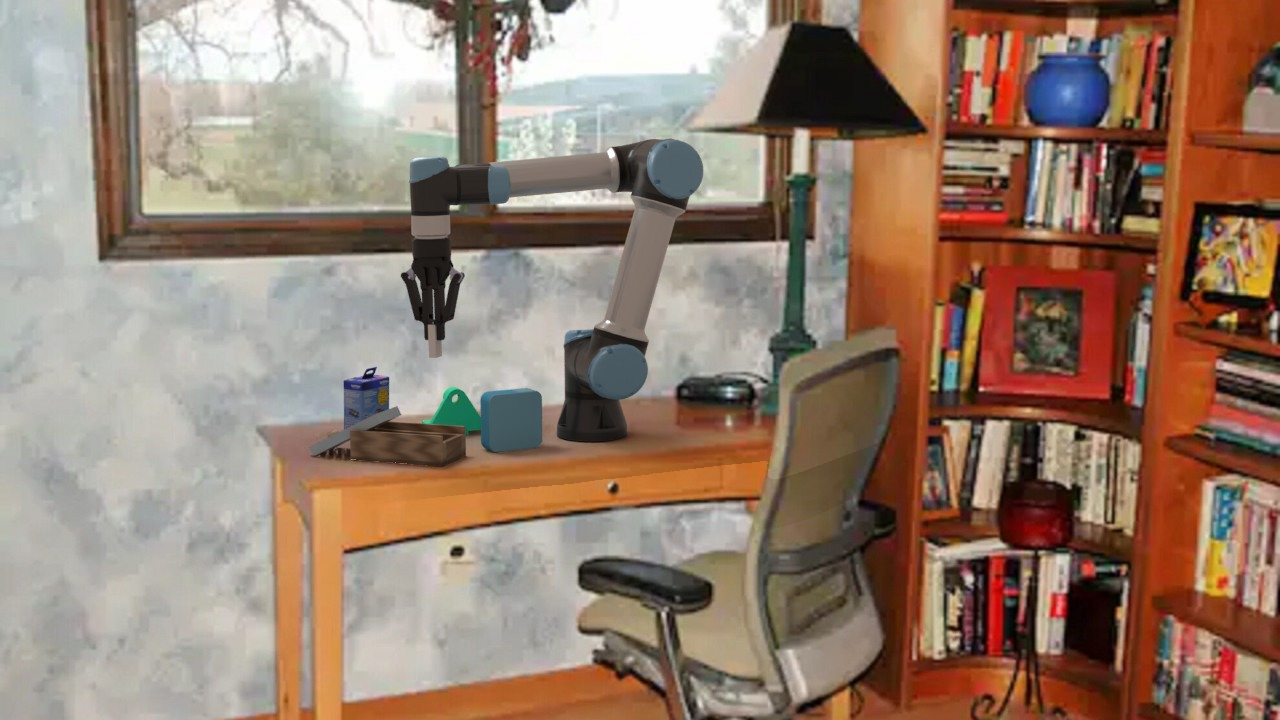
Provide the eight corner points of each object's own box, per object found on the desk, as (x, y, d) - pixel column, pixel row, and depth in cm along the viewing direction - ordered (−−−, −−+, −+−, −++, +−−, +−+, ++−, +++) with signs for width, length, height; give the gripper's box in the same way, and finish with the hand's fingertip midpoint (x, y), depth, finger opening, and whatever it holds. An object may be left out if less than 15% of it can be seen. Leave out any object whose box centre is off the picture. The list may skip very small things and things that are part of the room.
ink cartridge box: (363, 438, 327) (361, 371, 325) (342, 436, 329) (340, 369, 327) (391, 430, 335) (390, 365, 333) (371, 428, 338) (369, 363, 336)
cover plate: (401, 414, 312) (395, 401, 312) (380, 423, 303) (373, 409, 303) (336, 447, 318) (330, 434, 318) (313, 456, 309) (307, 442, 309)
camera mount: (474, 428, 339) (473, 382, 337) (484, 434, 332) (483, 387, 331) (421, 432, 334) (420, 385, 333) (430, 438, 327) (429, 391, 326)
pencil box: (465, 455, 309) (465, 426, 309) (442, 466, 299) (441, 436, 298) (376, 449, 316) (376, 420, 315) (350, 459, 305) (349, 430, 304)
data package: (533, 443, 321) (532, 387, 320) (542, 447, 318) (542, 390, 316) (480, 449, 315) (479, 392, 314) (490, 453, 312) (489, 395, 310)
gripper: (469, 235, 300) (473, 355, 304) (409, 235, 305) (414, 352, 308) (453, 238, 293) (457, 360, 297) (392, 238, 298) (396, 358, 301)
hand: (435, 356), depth 303 cm, fingers closed
